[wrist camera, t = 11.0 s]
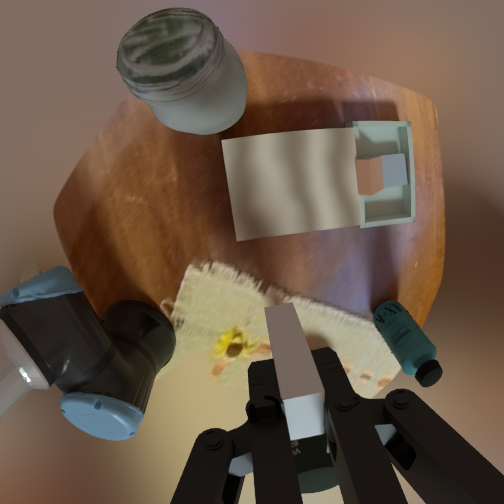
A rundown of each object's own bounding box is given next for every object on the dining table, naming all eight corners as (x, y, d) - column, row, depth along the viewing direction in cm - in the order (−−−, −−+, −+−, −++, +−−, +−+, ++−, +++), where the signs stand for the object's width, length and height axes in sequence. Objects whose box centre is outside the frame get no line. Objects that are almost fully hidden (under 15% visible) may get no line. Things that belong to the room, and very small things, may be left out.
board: (237, 231, 46) (236, 241, 42) (223, 141, 41) (221, 140, 37) (349, 216, 46) (360, 224, 41) (342, 129, 41) (353, 127, 36)
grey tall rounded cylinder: (229, 62, 37) (209, -44, 11) (256, 120, 41) (276, 75, 14) (168, 90, 38) (72, 26, 12) (194, 147, 42) (118, 150, 15)
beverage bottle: (404, 300, 52) (458, 363, 33) (387, 328, 54) (432, 396, 35) (380, 290, 51) (433, 357, 32) (362, 320, 53) (405, 393, 34)
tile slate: (407, 184, 41) (401, 182, 43) (404, 153, 40) (398, 152, 41) (380, 188, 42) (375, 186, 43) (377, 156, 40) (371, 155, 42)
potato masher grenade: (270, 314, 51) (292, 466, 23) (316, 321, 52) (367, 462, 24) (259, 351, 54) (270, 496, 26) (303, 356, 55) (336, 493, 27)
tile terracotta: (359, 194, 39) (371, 195, 38) (355, 159, 38) (368, 159, 36) (372, 187, 43) (383, 188, 41) (369, 156, 41) (381, 156, 39)
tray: (352, 222, 46) (360, 228, 43) (344, 122, 41) (352, 121, 37) (405, 216, 46) (415, 221, 43) (399, 122, 41) (410, 121, 37)
